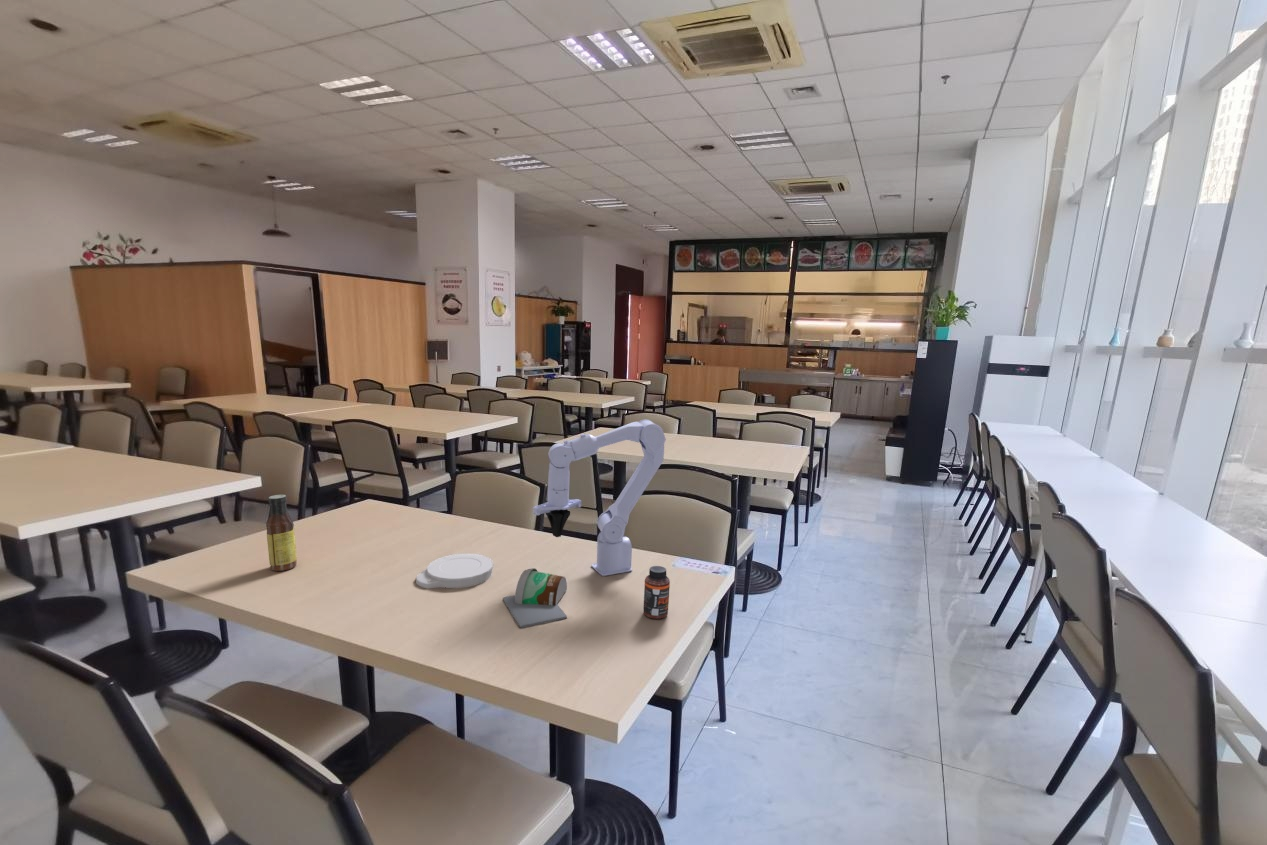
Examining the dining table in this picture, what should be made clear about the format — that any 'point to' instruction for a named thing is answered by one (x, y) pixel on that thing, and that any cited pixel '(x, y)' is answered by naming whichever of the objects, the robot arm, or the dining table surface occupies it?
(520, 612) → the mat
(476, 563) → the lid
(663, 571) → the supplement bottle
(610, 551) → the robot arm
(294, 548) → the sauce bottle
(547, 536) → the dining table surface
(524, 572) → the food container
